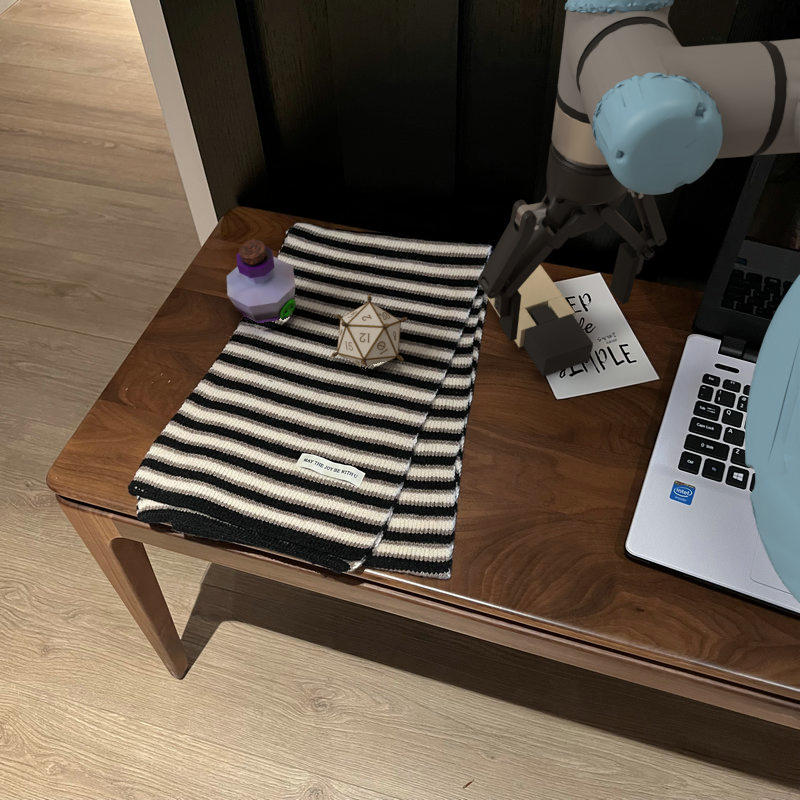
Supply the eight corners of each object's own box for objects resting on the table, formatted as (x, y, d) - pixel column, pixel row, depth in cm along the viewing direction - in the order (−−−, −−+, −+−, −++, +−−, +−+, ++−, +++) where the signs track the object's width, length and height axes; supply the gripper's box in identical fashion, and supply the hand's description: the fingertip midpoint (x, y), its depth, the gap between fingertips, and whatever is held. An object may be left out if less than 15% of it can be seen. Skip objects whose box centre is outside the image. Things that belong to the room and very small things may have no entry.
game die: (369, 366, 97) (370, 286, 94) (420, 379, 92) (423, 294, 89) (315, 378, 91) (315, 293, 88) (367, 393, 85) (368, 302, 82)
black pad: (588, 365, 91) (593, 343, 88) (542, 381, 90) (545, 359, 87) (557, 322, 95) (561, 299, 92) (513, 336, 94) (515, 314, 91)
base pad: (570, 335, 94) (575, 312, 91) (518, 352, 93) (521, 330, 89) (536, 286, 99) (539, 263, 96) (486, 302, 98) (488, 279, 94)
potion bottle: (293, 350, 94) (276, 279, 85) (226, 340, 96) (202, 269, 86) (313, 299, 99) (299, 227, 90) (249, 291, 101) (229, 218, 91)
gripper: (691, 89, 73) (645, 260, 89) (445, 157, 68) (445, 323, 85) (740, 132, 68) (682, 303, 85) (481, 207, 64) (474, 372, 80)
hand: (564, 313), depth 85 cm, fingers open, 13 cm apart
